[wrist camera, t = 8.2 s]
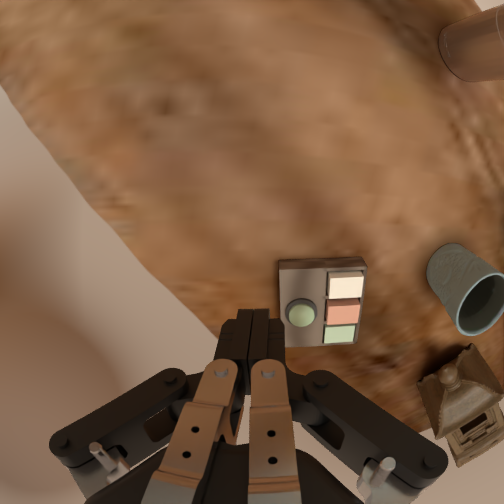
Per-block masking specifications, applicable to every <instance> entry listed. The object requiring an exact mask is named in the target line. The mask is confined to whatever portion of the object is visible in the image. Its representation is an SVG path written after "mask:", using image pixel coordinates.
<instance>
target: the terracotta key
mask: <svg viewBox="0 0 504 504" xmlns="http://www.w3.org/2000/svg"><path fill="white" fill-rule="evenodd" d="M359 311H360V303H359V300H358V298H357V297H355V298H337V299H326V309H325V317H326V322H327V325H334V324H350V323H358V318H359Z"/></svg>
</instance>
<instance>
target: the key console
mask: <svg viewBox="0 0 504 504" xmlns="http://www.w3.org/2000/svg"><path fill="white" fill-rule="evenodd" d="M348 270H361V272H362V274H363V276H364V279H363V288H362V296H361V297H357V298H358V300H359V303H360V311H359V318H358V323H355V330H354V337H353V341H352V342H338V343H324V339H323V324H327V322H326V317H325V309H326V299H329V297H328V293H327V275H328V271H348ZM366 274H367V265H366V263H365V261H364V260H363V258H362V257H349V258H322V259H294V260H279V280H280V313H281V320H282V322H283V323H284V325H285V347H307V346H326V345H341V344H354V343H357V337H358V331H359V325H360V319H361V312H362V305H363V298H364V291H365V283H366Z"/></svg>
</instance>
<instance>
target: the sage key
mask: <svg viewBox="0 0 504 504" xmlns="http://www.w3.org/2000/svg"><path fill="white" fill-rule="evenodd" d="M354 330H355V323H350V324H334V325H327V324H323V339H324V343H338V342H352V341H353V337H354Z"/></svg>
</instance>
